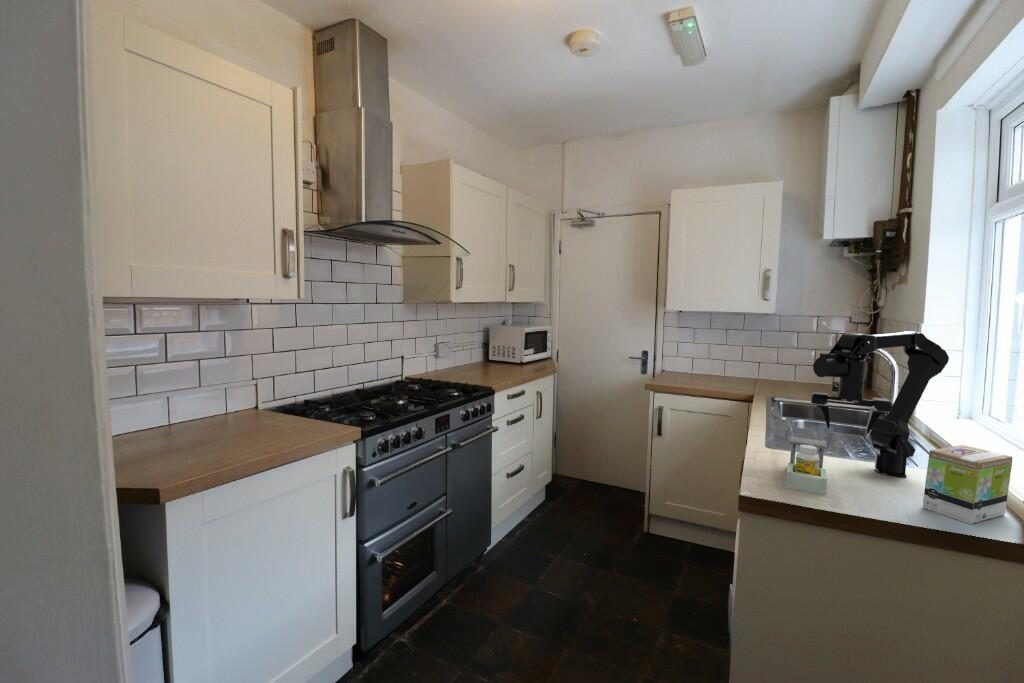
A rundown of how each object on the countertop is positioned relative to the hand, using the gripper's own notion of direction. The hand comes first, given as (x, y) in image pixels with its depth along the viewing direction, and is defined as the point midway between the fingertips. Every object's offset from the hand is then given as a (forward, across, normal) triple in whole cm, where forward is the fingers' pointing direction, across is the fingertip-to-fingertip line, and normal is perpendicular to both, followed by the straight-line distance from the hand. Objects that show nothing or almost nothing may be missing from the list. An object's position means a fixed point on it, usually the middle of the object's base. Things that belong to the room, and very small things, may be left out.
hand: (847, 430), depth 138 cm
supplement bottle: (+12, +10, +16) cm, 22 cm away
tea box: (+13, -23, +14) cm, 30 cm away
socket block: (+13, +10, +12) cm, 20 cm away
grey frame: (+13, +10, +4) cm, 17 cm away
